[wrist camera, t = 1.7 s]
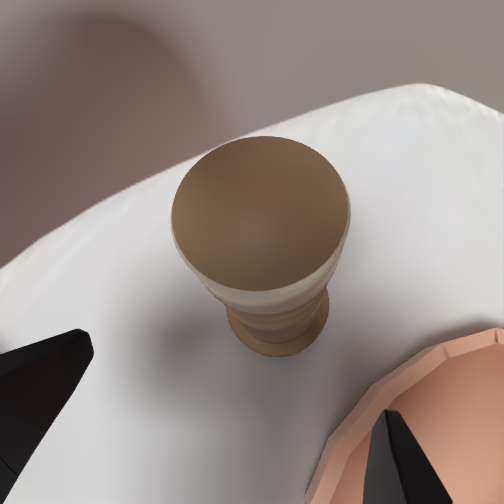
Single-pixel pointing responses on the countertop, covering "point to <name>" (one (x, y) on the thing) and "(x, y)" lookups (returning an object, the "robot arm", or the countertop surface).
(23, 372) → the robot arm
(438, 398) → the tray
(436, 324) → the countertop surface
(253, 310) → the tan flared cylinder
